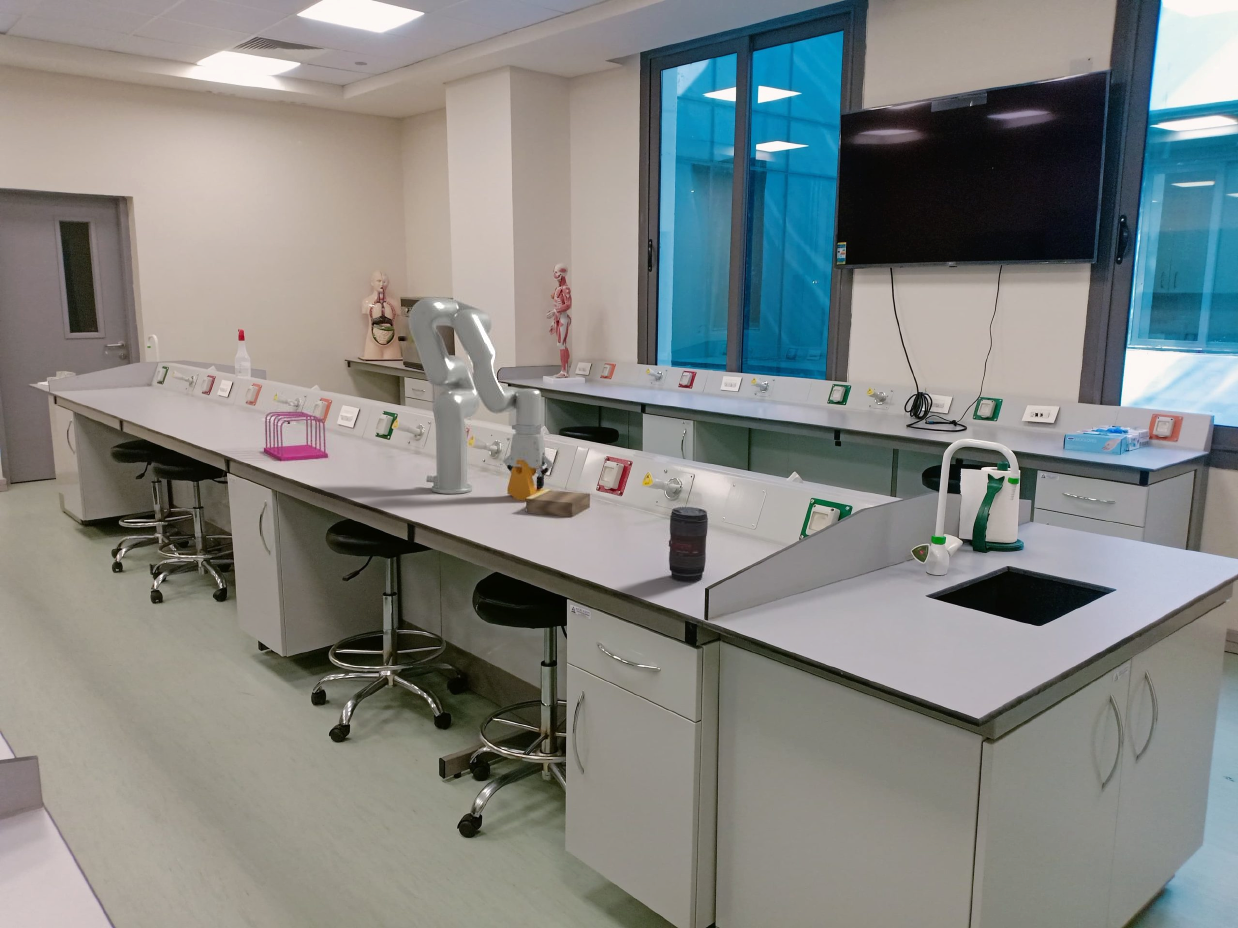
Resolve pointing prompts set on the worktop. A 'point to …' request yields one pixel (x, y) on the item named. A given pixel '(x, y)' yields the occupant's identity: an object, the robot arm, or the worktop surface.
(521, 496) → the bracket
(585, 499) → the dock
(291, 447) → the file sorter
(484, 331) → the robot arm
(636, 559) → the worktop surface
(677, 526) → the camera lens
